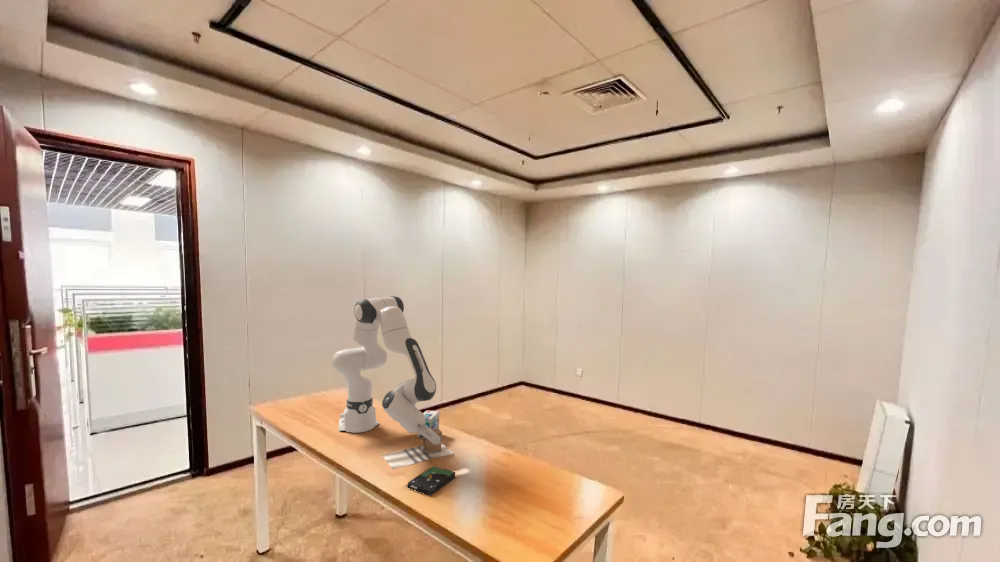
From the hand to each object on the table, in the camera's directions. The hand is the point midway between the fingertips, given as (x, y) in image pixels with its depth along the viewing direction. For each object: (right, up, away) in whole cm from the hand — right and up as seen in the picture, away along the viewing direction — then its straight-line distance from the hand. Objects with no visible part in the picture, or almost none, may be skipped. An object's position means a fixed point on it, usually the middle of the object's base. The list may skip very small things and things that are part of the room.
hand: (436, 440), depth 169 cm
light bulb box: (-6, -5, +17) cm, 18 cm away
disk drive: (+2, -7, -24) cm, 25 cm away
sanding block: (-2, -4, -1) cm, 4 cm away
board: (-7, -5, -4) cm, 10 cm away
